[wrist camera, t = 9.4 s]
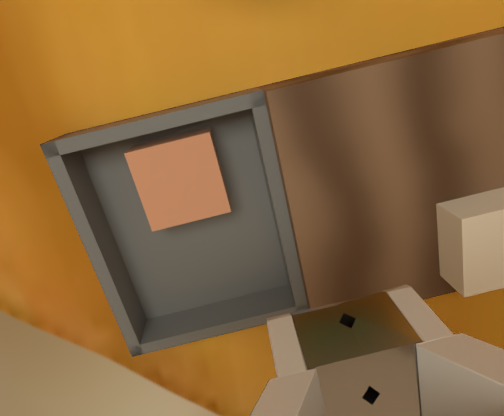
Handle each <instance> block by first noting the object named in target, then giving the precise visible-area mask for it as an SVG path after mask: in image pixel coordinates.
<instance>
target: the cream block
mask: <svg viewBox="0 0 504 416" xmlns="http://www.w3.org/2000/svg"><path fill="white" fill-rule="evenodd" d="M436 211H437V229H438V247H439V265H440V276H441V277H442V278H443V279H444V280H445V281H447V282H448V283H449V284H450V285H451V286H452V287H453V288H454V289H455V290H456V291H457V292H458V293H460V294H461V295H462V296H463V297H464V298H465V297H469V296H473V295H477V294H481V293H485V292H489V291H493V290H497V289H501V288H504V187H503V188H499V189H494V190H490V191H486V192H482V193H478V194H474V195H470V196H466V197H462V198H458V199H454V200H450V201H446V202H441V203H437V204H436Z"/></svg>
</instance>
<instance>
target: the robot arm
mask: <svg viewBox="0 0 504 416" xmlns="http://www.w3.org/2000/svg"><path fill="white" fill-rule="evenodd" d="M267 327H268V333H269V338H270V343H271V349H272V354H273V360H274V365H275V370H276V376H277V378H273V379H270V380H269V381H268V383H267V385H266V387H265V389H264V390H263V392H262V394H261V396H260V398H259V400H258V402H257V403H256V405H255V407H254V409H253V411H252V413H251V414H250V416H504V349H502V348H499V347H497V346H494V345H492V344H489V343H487V342H484V341H481V340H479V339H476V338H474V337H471V336H469V335H466V334H463V333H460V334H455V335H454V334H453V333H452V332H451V331H450V330H449V328H448V327H447V326H446V325H445V324H444V323H443V322H442V321H441V319H440V318H439V317H438V316H437V315H436V314H435V313H434V312H433V310H432V309H431V308H430V307H429V306H428V305H427V304H426V303H425V302H424V300H423V299H422V298H421V297H420V296H419V295H418V294H417V293H416V291H415V290H414V289H413V288H412V287H411V286H409V285H407V284H406V285H402V286H398V287H395V288H391V289H387V290H384V291H383V292H379V293H375V294H371V295H367V296H363V297H359V298H355V299H351V300H347V301H343V302H339V303H333V304H328V305H323V306H319V307H314V308H310V309H305V310H301V311H296V312H291V314H290V313H288V314H283V315H279V316H275V317H271V318H267Z"/></svg>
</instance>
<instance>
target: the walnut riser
mask: <svg viewBox="0 0 504 416" xmlns="http://www.w3.org/2000/svg"><path fill="white" fill-rule="evenodd" d="M257 88H259V89H262V90H263V93H264V97H265V102H266V107H267V112H268V117H269V122H270V126H271V131H272V136H273V141H274V146H275V150H276V155H277V160H278V165H279V170H280V174H281V179H282V184H283V189H284V194H285V198H286V203H287V208H288V213H289V218H290V222H291V227H292V232H293V237H294V242H295V246H296V251H297V256H298V261H299V266H300V270H301V275H302V280H303V285H304V290H305V294H306V299H307V304H308V309H310V308H314V307H319V306H323V305H328V304H333V303H339V302H343V301H347V300H351V299H355V298H359V297H363V296H367V295H371V294H375V293H379V292H383V291H384V290H387V289H391V288H395V287H398V286H402V285H406V284H407V285H409V286H411V287H412V288H413V289H414V290H415V291H416V293H417V294H418V295H419V296H420V297H421V298H422V299H427V298H431V297H435V296H439V295H443V294H447V293H451V292H455V291H456V290H455V289H454V288H453V287H452V286H451V285H450V284H449V283H448V282H447V281H445V280H444V279H443V278H442V277H441V276H440V265H439V247H438V229H437V211H436V204H437V203H441V202H446V201H450V200H454V199H458V198H462V197H466V196H470V195H474V194H478V193H482V192H486V191H490V190H494V189H499V188H503V187H504V27H501V28H497V29H493V30H488V31H484V32H480V33H476V34H472V35H468V36H464V37H460V38H456V39H452V40H448V41H443V42H439V43H435V44H431V45H427V46H423V47H419V48H415V49H411V50H407V51H403V52H399V53H394V54H390V55H386V56H382V57H378V58H374V59H370V60H366V61H362V62H358V63H354V64H350V65H345V66H341V67H337V68H333V69H329V70H325V71H321V72H317V73H313V74H309V75H305V76H300V77H296V78H292V79H288V80H284V81H280V82H276V83H272V84H268V85H264V86H260V87H257Z"/></svg>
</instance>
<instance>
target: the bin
mask: <svg viewBox="0 0 504 416" xmlns="http://www.w3.org/2000/svg"><path fill="white" fill-rule="evenodd" d="M208 126H210V127H211V130H212V134H213V138H214V141H215V145H216V149H217V153H218V156H219V160H220V164H221V167H222V171H223V175H224V178H225V182H226V186H227V189H228V193H229V197H230V204H231V212H229V213H225V214H221V215H217V216H213V217H209V218H205V219H201V220H197V221H193V222H189V223H185V224H181V225H177V226H173V227H169V228H165V229H161V230H157V231H153V232H152V230H151V227H150V224H149V221H148V219H147V216H146V213H145V210H144V207H143V205H142V202H141V199H140V196H139V194H138V191H137V188H136V185H135V183H134V180H133V177H132V174H131V172H130V169H129V166H128V163H127V160H126V158H125V155H124V153H125V152H126V151H127V150H129V149H130V148H131V147H132V146H133V145H136V144H140V143H144V142H148V141H152V140H156V139H160V138H164V137H168V136H172V135H176V134H180V133H184V132H188V131H192V130H196V129H200V128H204V127H208ZM40 146H41V148H42V150H43V153H44V155H45V157H46V160H47V162H48V164H49V166H50V169H51V171H52V173H53V176H54V178H55V180H56V183H57V185H58V187H59V189H60V192H61V194H62V196H63V199H64V201H65V203H66V206H67V208H68V210H69V212H70V215H71V217H72V219H73V222H74V224H75V226H76V229H77V231H78V233H79V236H80V238H81V240H82V242H83V245H84V247H85V249H86V252H87V254H88V256H89V259H90V261H91V263H92V265H93V268H94V270H95V272H96V275H97V277H98V279H99V282H100V284H101V286H102V289H103V291H104V293H105V295H106V298H107V300H108V302H109V305H110V307H111V309H112V312H113V314H114V316H115V318H116V321H117V323H118V325H119V328H120V330H121V332H122V335H123V337H124V339H125V342H126V344H127V346H128V348H129V351H130V353H131V355H132V357H133V356H137V355H141V354H145V353H149V352H153V351H158V350H162V349H166V348H170V347H174V346H178V345H182V344H186V343H190V342H194V341H198V340H202V339H206V338H210V337H215V336H219V335H223V334H227V333H231V332H235V331H239V330H243V329H247V328H251V327H255V326H259V325H263V324H267V318H271V317H275V316H279V315H283V314H288V313H290V314H291V312H296V311H301V310H305V309H308V304H307V299H306V294H305V290H304V285H303V280H302V275H301V270H300V266H299V261H298V256H297V251H296V246H295V242H294V237H293V232H292V227H291V222H290V218H289V213H288V208H287V203H286V198H285V194H284V189H283V184H282V179H281V174H280V170H279V165H278V160H277V155H276V150H275V146H274V141H273V136H272V131H271V126H270V122H269V117H268V112H267V107H266V102H265V97H264V93H263V90H262V89H259V88H257V87H256V88H251V89H247V90H243V91H239V92H235V93H231V94H227V95H223V96H219V97H215V98H211V99H207V100H202V101H198V102H194V103H190V104H186V105H182V106H178V107H174V108H170V109H166V110H162V111H157V112H153V113H149V114H145V115H141V116H137V117H133V118H129V119H125V120H121V121H117V122H113V123H108V124H104V125H100V126H96V127H92V128H88V129H84V130H80V131H76V132H72V133H68V134H64V135H62V136H59V137H57V138H55V139H52V140H50V141H47V142H45V143H43V144H40Z"/></svg>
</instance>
